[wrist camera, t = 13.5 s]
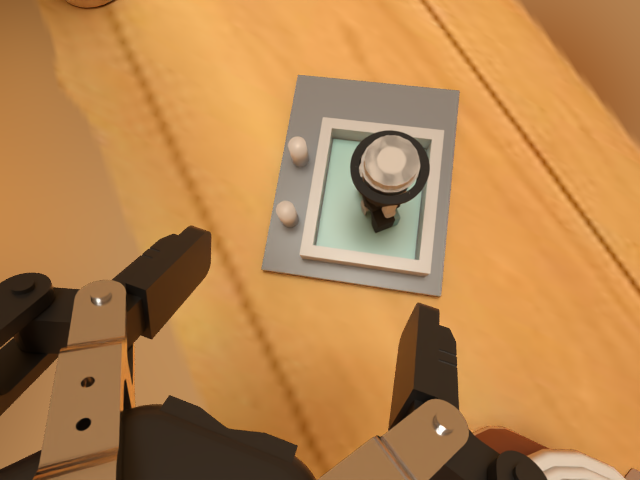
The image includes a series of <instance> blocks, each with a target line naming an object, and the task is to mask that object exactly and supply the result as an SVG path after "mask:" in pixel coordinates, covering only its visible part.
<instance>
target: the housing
mask: <svg viewBox="0 0 640 480" xmlns="http://www.w3.org/2000/svg"><path fill="white" fill-rule="evenodd" d="M458 102H459V91H457V90H447V89H437V88H427V87H417V86H406V85H396V84H386V83H376V82H366V81H356V80H345V79H335V78H325V77H315V76H305V75H298V78H297V83H296V89H295V94H294V99H293V105H292V110H291V115H290V120H289V126H288V131H287V136H286V142H285V147H284V152H283V158H282V163H281V168H280V173H279V179H278V184H277V189H276V195H275V200H274V205H273V210H272V216H271V221H270V226H269V232H268V237H267V242H266V248H265V253H264V258H263V263H262V270H264V271H270V272H276V273H283V274H289V275H296V276H303V277H309V278H316V279H323V280H329V281H336V282H343V283H349V284H356V285H362V286H369V287H376V288H382V289H389V290H396V291H402V292H409V293H416V294H422V295H429V296H436V297H440V296H441V290H442V279H443V268H444V257H445V246H446V235H447V224H448V213H449V202H450V191H451V180H452V169H453V157H454V146H455V135H456V124H457V113H458ZM386 130H393V131H399V132H403V133H406V134H408V135H410V136H412V137H413V138H415V139H416V140H417V141H418V142H419V143H420V144H421V145H422V146H423V148H424V149H425V151H426V153H427V155H428V158H429V163H430V173H429V177H428V180H427V182H426V184H425V186H424V188H423V189H422V191H421V192H420V193H419V194H418V195H417V196H416V197H415V198H413V199H412V200H410V201H408V202H406V203H403V204H400V207H399V208H397V210H398V212H399V214H400V220H399V222H398V224H397V225H395V226H393V227H390V228H387V229H385V230H382V231H380V232H377V233H375V231H374V229H373V227H372V224H371V213H370V210H369V211H367V212H366V216H365V215H364V213H363V211H362V209H361V206H360V204H361V200H363V198H362V194H360V192H359V191H358V190H357V189H356V187H355V185H354V184H353V181H352V178H351V173H350V162H351V158H352V155H353V152H354V150H355V149H356V147H357V146H358V144H359V143H360V142H361V141H362V140H363V139H365V138H366V137H368V136H369V135H371V134H374V133H376V132H380V131H386ZM415 183H416V180H415V181H414V182H413V183H412V185H411V186H409V187H408V189H407V191H408V190H410V189H411V188H412V187H413V186H414V185H415Z"/></svg>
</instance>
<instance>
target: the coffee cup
mask: <svg viewBox="0 0 640 480" xmlns="http://www.w3.org/2000/svg"><path fill="white" fill-rule="evenodd" d="M473 434H474V435H475V436H476V437H477V438H478V439H479V440H481V441H482V442H484V443H485V444H486V445H488V446H489V447H491V448H492V449H494V450H495V451H496V452H498V453H499V454H501V453H503V452H504V451H508V450H512V451H517V452H520V453H522V454H524V455H526V456H527V457H529V458H530V459H531V460H533V461H534V462H535V463H536V464H537V465H538V466H539V467H540V469H541V470H542V471H543V473H544V474H545V476H546V478H547V480H626V479H625V478H624V477H623V476H622V475H621V474H620V473H619V472H618V471H617V470H616V469H615V468H613V467H612V466H610V465H608V464H606V463H604V462H602V461H599V460H597V459H595V458H592V457H590V456H588V455H586V454H583V453H581V452H579V451H576V450H566V449H549V448H547V447H544V446H542V445H540V444H538V443H536V442H534V441H532V440H530V439H527V438H525V437H523V436H521V435H520V434H518V433H516V432H514V431H511V430H509V429H507V428H505V427H496V426H487V427H484V428H482V429H480V430H477V431H475V432H473Z"/></svg>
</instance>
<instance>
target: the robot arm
mask: <svg viewBox="0 0 640 480" xmlns="http://www.w3.org/2000/svg"><path fill="white" fill-rule="evenodd" d="M65 1H67V2H68V3H70V4H72V5H75V6H78V7H85V8H89V7H97V6H100V5H104V4H106V3H108V2H110V1H112V0H65ZM210 264H211V233H210V232H209V231H206V230H203V229H200V228H197V227H194V226H189V227H187V228H186V229H185V230H184V231H183V232H182V233H181V234H179V235H176V234H171V235H169V236H167V237H164V238H162V239H160V240H158V241H157V242H156V243H155V244H154V245H153V246H151V247H150V249H148V250H147V251H145V252H144V253H143V255H142V256H139V257H138V258H137V259H136V260H135V261H134V262H132V263H131V264H130V265H129V266H128V267H126V268H125V269H124V270H123V271H122V272H121V273H119V274H118V275H117V276H116V277H115V278H113V279H112V280H100V281H95V282H92V283H89V284H87V285H85V286H84V287H82V288H81V289H67V288H55V287H52V283H51V281H50V279H49V278H48V277H47V276H46V275H43V274H40V273H24V274H19V275H15V276H13V277H10V278H8V279H6V280H5V281H3V282H1V283H0V347H1V346H3V345H4V344H5V343H6V342H7V341H8V340H10V339H11V338H12V337H14V338H13V339H12V340H11V341H10V342H8V343H7V344H6V345H5V346H4V347H3V348H1V349H0V416H1V415H2V414H3V413H4V412H5V410H6V409H7V408H9V407H10V405H11V404H12V403H13V402H14V401H15V400H16V399H17V398H18V397H19V396H20V395H21V394H22V393H23V392H24V391H25V390H26V389H27V388H28V387H29V386H30V385H31V384H32V383H33V382H34V381H35V380H36V379H37V378H38V377H39V376H40V375H41V374H42V373H43V372H44V371H45V370H46V369H47V368H48V367H49V366H50V365H51V364H52V362H54V360H56V359H57V358H58V361H57V367H56V372H55V378H54V383H53V390H52V395H51V400H50V406H49V412H48V418H47V423H46V429H45V434H44V440H43V446H42V450H40V451H38V452H36V453H34V454H32V455H30V456H28V457H25V458H23V459H21V460H19V461H18V462H15V463H13V464H11V465H9V466H7V467H5V468H2V469H0V480H316V479H315V477H314V475H313V474H312V473H311V471H310V470H309V469H308V468H307V466H306V465H305V464H304V463H303V462H302V461H300V460H299V459H298V458H297V457H295V453H296V449H297V445H294V444H292V443H289V442H287V441H284V440H282V439H279V438H277V437H274V436H272V435H269V434H267V433H261V432H252V431H243V430H234V429H229V428H226V427H225V426H223V425H222V424H221V423H220V422H218V421H217V420H216V419H215V418H213V417H212V416H211V415H209V414H208V413H207V412H206V411H204V410H203V409H202V408H200V407H198V406H196V405H193V404H191V403H188V402H186V401H183V400H180V399H178V398H175V397H173V396H169V397H168V398H167V400H166V401H165V402H164V404H163V405H161V404H152V405H143V406H139V407H136V405H135V388H134V387H135V386H134V385H135V382H134V381H135V377H134V376H135V373H134V372H135V363H134V361H135V354H134V353H135V346H134V342H135V341H136V340H137V339H138V337H139V336H140V335H141V336H144V337H147V338H149V339H153V337H154V336H155V335H156V334H157V333H158V332H159V330H160V329H161V328H162V327H163V326H164V324H166V322H167V321H168V320H169V319H170V318H171V317H172V315H173V314H174V313H175V312H176V311H177V310H178V308H179V307H180V306H181V305H182V304H183V303H184V301H185V300H186V299H187V298H188V297H189V296H190V294H191V293H192V292H193V291H194V290H195V288H196V287H197V286H198V285H199V284H200V283H201V281H202V280H203V279H204V278H205V277H206V275H207V273H208V271H209V268H210ZM456 355H457V354H456V341H455V339H454V337H453V335H452V333H451V330H450V329H449V328H447V327H444V326H441V325H439V309H436V308H433V307H430V306H427V305H424V304H421V303H417V304H416V306H415V308H414V310H413V312H412V314H411V316H410V318H409V320H408V322H407V324H406V326H405V328H404V330H403V333H402V335H401V338H400V342H399V347H398V355H397V363H396V371H395V380H394V388H393V396H392V404H391V412H390V420H389V428H388V430H389V431H388V432H387V433H385V434H384V435H383V436H381V437H379V436H378V435H377V436H375V437H373V438H371V439H370V440H369V441H367V442H366V443H365V444H363V445H362V446H361V447H359V448H358V449H357V450H356V451H354V452H353V453H352V454H350V455H349V456H348V457H346V458H345V459H344V460H343V461H341V462H340V463H339V464H337V465H336V466H335V467H333V468H332V469H331V470H329V471H328V472H327V473H326V474H324V475H323V476H322V477H320V478H319V479H318V480H547V478H546V476H545V474H544V473H543V471H542V470H541V469H540V467H539V466H538V465H537V464H536V463H535V462H534V461H533V460H531V459H530V458H529V457H527V456H526V455H524V454H522V453H520V452H517V451H512V450H508V451H504V452H503V453H501V454H499V453H498V452H496V451H495V450H494V449H492V448H491V447H489V446H488V445H486V444H485V443H484V442H482V441H481V440H479V439H478V438H477V437H476V436H475V435H474V434H473V433H472V432H471V431H470V430H469V429H468V425H467V422H466V420H465V418H464V417H463V415H462V414H461V413H460V411H459V400H458V377H457V368H456V367H457V357H456Z"/></svg>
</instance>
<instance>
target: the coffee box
mask: <svg viewBox="0 0 640 480" xmlns="http://www.w3.org/2000/svg"><path fill="white" fill-rule="evenodd" d="M625 479H626V480H640V472H639V471H637V470H635V469H631V470H630V471H629V473H628V474H627V475H626V477H625Z"/></svg>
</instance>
